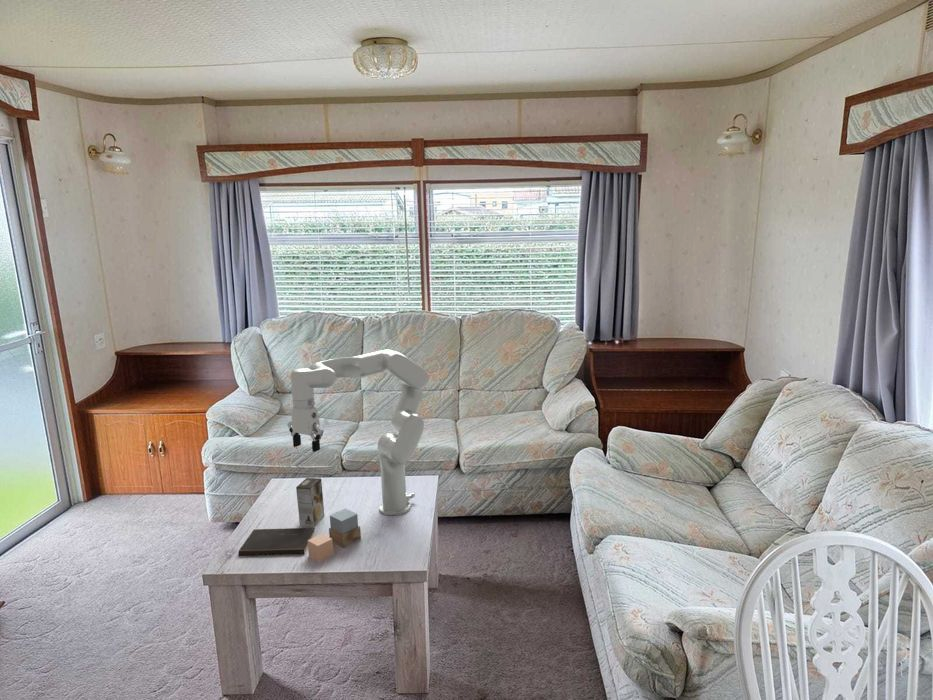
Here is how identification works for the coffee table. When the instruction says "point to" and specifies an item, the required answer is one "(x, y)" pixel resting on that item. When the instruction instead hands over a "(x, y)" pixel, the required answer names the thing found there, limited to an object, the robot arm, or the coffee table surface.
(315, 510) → the coffee box
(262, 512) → the coffee table surface
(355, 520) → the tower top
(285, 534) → the hardcover book
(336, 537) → the tower bottom
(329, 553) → the terracotta cube
